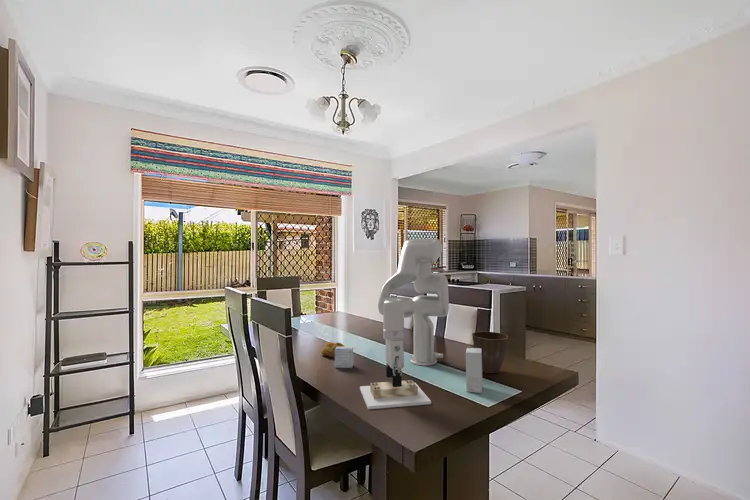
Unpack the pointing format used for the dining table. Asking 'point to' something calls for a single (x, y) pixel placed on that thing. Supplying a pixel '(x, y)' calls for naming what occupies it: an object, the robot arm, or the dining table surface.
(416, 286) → the robot arm
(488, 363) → the plant pot
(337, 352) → the medicine box
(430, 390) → the dining table surface
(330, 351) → the bread roll
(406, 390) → the birch board
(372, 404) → the chassis plate
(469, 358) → the skincare box
